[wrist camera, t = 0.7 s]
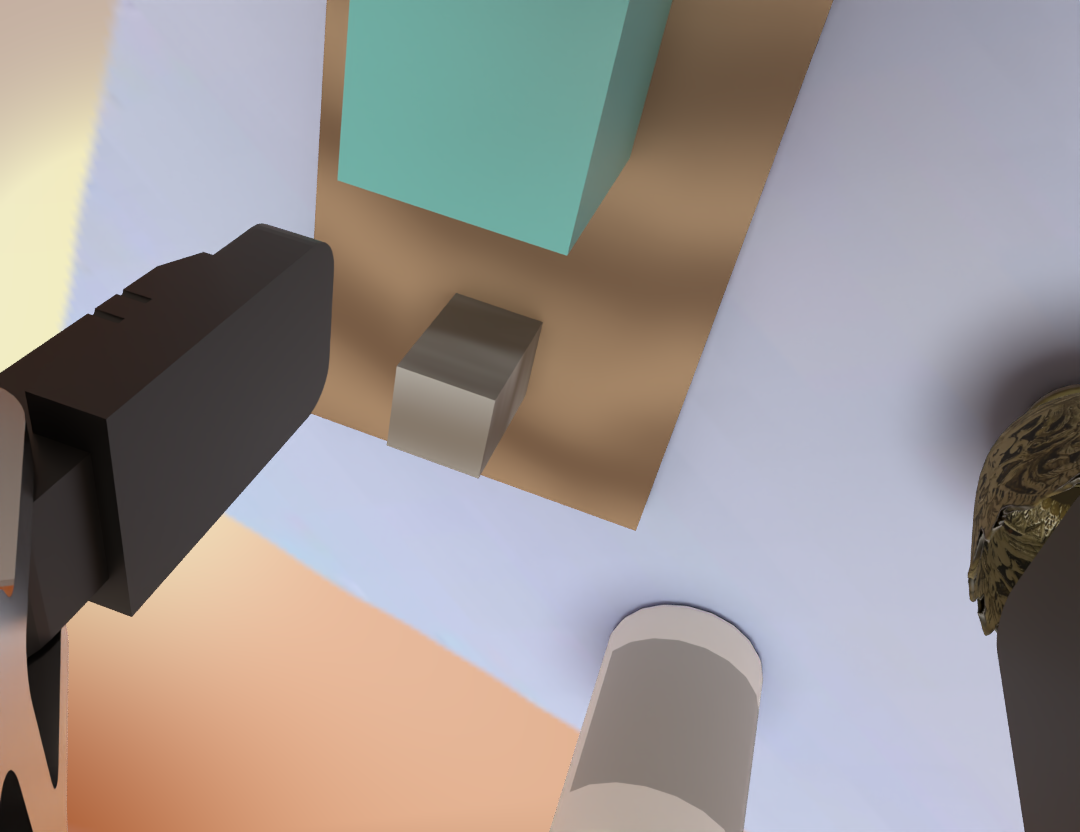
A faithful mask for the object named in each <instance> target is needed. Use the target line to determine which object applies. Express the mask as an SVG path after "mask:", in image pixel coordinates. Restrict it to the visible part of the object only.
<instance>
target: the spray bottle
mask: <svg viewBox="0 0 1080 832" xmlns="http://www.w3.org/2000/svg"><path fill="white" fill-rule="evenodd" d="M762 683H763V676H762V667H761V661H760V659H759V657H758V655H757V653H756V651H755V649H754V648H753V646H752V644H751V642H750V640H748V639H747V638H746V637H745V636H744V635H743V634H742V633H741V632H740V631H739V630H738V629H737V628H736V627H735V626H734V625H732V624H730V623H728V622H727V621H725V620H723V619H721V618H719V617H718V616H716V615H714V614H712V613H709V612H706V611H702V610H699V609H696V608H692V607H689V606H678V605H659V606H653V607H648V608H642V609H640V610H638V611H636V612H635V613H633V614H631V615H629V616H627V617H625V618H624V619H623V620H622V621H621V622H620V623H619V625H618V626H617V627H616V628H615V629H614V631H613V632H612V633H611V635H610V639H609V642H608V645H607V648H606V651H605V655H604V658H603V661H602V664H601V667H600V671H599V674H598V677H597V680H596V684H595V687H594V690H593V693H592V696H591V700H590V703H589V706H588V709H587V712H586V716H585V719H584V722H583V725H582V728H581V732H580V735H579V738H578V741H577V745H576V748H575V751H574V754H573V757H572V761H571V764H570V767H569V771H568V773H567V777H566V780H565V783H564V787H563V789H562V793H561V796H560V799H559V803H558V806H557V809H556V812H555V815H554V818H553V822H552V825H551V828H550V832H743V830H744V822H745V814H746V806H747V799H748V791H749V783H750V775H751V768H752V760H753V752H754V744H755V737H756V729H757V721H758V713H759V706H760V698H761V690H762Z"/></svg>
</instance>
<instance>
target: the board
mask: <svg viewBox="0 0 1080 832" xmlns="http://www.w3.org/2000/svg"><path fill="white" fill-rule="evenodd" d="M349 2H350V0H327V6H326V25H325V44H324V63H323V81H322V100H321V119H320V138H319V156H318V175H317V194H316V213H315V231H314V239H316V240H319V241H322V242H325V243H327V244H328V245H329V246H330V247H331V250H332V252H333V257H334V280H333V299H332V319H331V338H330V358H329V369H328V374H327V378H326V382H325V385H324V388H323V391H322V394H321V396H320V398H319V400H318V403H317V404H316V406H315V408H314V410H313V411H312V413H311V414H314V415H317V416H320V417H322V418H325V419H328V420H331V421H333V422H336V423H339V424H342V425H344V426H347V427H350V428H353V429H355V430H358V431H361V432H364V433H367V434H369V435H372V436H375V437H378V438H380V439H383V440H386V441H387V446H390V447H393V448H396V449H399V450H401V451H404V452H407V453H410V454H412V455H415V456H418V457H421V458H423V459H426V460H429V461H432V462H434V463H437V464H440V465H443V466H445V467H448V468H451V469H454V470H457V471H459V472H462V473H465V474H468V475H470V476H473V477H476V478H479V477H480V475H483V476H485V477H488V478H491V479H494V480H497V481H499V482H502V483H505V484H508V485H510V486H513V487H516V488H519V489H521V490H524V491H527V492H530V493H532V494H535V495H538V496H541V497H544V498H546V499H549V500H552V501H555V502H557V503H560V504H563V505H566V506H568V507H571V508H574V509H577V510H579V511H582V512H585V513H588V514H591V515H593V516H596V517H599V518H602V519H604V520H607V521H610V522H613V523H615V524H618V525H621V526H624V527H627V528H629V529H632V530H635V531H636V529H637V526H638V523H639V521H640V518H641V515H642V513H643V510H644V507H645V504H646V502H647V499H648V496H649V494H650V491H651V488H652V486H653V483H654V480H655V478H656V475H657V472H658V470H659V467H660V464H661V461H662V459H663V456H664V453H665V451H666V448H667V445H668V443H669V440H670V437H671V435H672V432H673V429H674V427H675V424H676V421H677V419H678V416H679V413H680V410H681V408H682V405H683V402H684V400H685V397H686V394H687V392H688V389H689V386H690V384H691V381H692V378H693V376H694V373H695V370H696V368H697V365H698V362H699V359H700V357H701V354H702V351H703V349H704V346H705V343H706V341H707V338H708V335H709V333H710V330H711V327H712V325H713V322H714V319H715V317H716V314H717V311H718V308H719V306H720V303H721V300H722V298H723V295H724V292H725V290H726V287H727V284H728V282H729V279H730V276H731V274H732V271H733V268H734V266H735V263H736V260H737V257H738V255H739V252H740V249H741V247H742V244H743V241H744V239H745V236H746V233H747V231H748V228H749V225H750V223H751V220H752V217H753V215H754V212H755V209H756V206H757V204H758V201H759V198H760V196H761V193H762V190H763V188H764V185H765V182H766V180H767V177H768V174H769V172H770V169H771V166H772V163H773V161H774V158H775V155H776V153H777V150H778V147H779V145H780V142H781V139H782V137H783V134H784V131H785V129H786V126H787V123H788V121H789V118H790V115H791V112H792V110H793V107H794V104H795V102H796V99H797V96H798V94H799V91H800V88H801V86H802V83H803V80H804V78H805V75H806V72H807V70H808V67H809V64H810V61H811V59H812V56H813V53H814V51H815V48H816V45H817V43H818V40H819V37H820V35H821V32H822V29H823V27H824V24H825V21H826V19H827V16H828V13H829V10H830V8H831V5H832V2H833V0H672V4H671V8H670V11H669V15H668V19H667V22H666V26H665V30H664V33H663V37H662V41H661V44H660V48H659V52H658V56H657V59H656V63H655V67H654V70H653V74H652V78H651V81H650V85H649V89H648V92H647V96H646V100H645V103H644V107H643V111H642V115H641V118H640V122H639V126H638V129H637V133H636V137H635V140H634V144H633V148H632V151H631V155H630V159H629V160H628V162H627V163H626V165H625V166H624V168H623V170H622V171H621V173H620V174H619V176H618V177H617V179H616V180H615V182H614V184H613V185H612V187H611V188H610V190H609V191H608V193H607V194H606V196H605V198H604V199H603V201H602V202H601V204H600V205H599V207H598V208H597V210H596V212H595V213H594V215H593V216H592V218H591V219H590V221H589V222H588V224H587V226H586V227H585V229H584V230H583V232H582V233H581V235H580V236H579V238H578V240H577V241H576V243H575V244H574V246H573V247H572V249H571V250H570V252H569V254H568V255H567V256H566V255H563V254H560V253H557V252H554V251H551V250H548V249H545V248H542V247H539V246H536V245H533V244H530V243H527V242H524V241H521V240H518V239H514V238H511V237H508V236H505V235H502V234H499V233H496V232H493V231H490V230H487V229H484V228H481V227H478V226H475V225H472V224H469V223H466V222H463V221H460V220H457V219H454V218H451V217H448V216H445V215H442V214H438V213H435V212H432V211H429V210H426V209H423V208H420V207H417V206H414V205H411V204H408V203H405V202H402V201H399V200H396V199H393V198H390V197H387V196H384V195H381V194H378V193H375V192H372V191H369V190H365V189H362V188H359V187H356V186H353V185H350V184H347V183H344V182H341V181H338V165H339V150H340V135H341V121H342V106H343V91H344V76H345V62H346V47H347V32H348V17H349Z"/></svg>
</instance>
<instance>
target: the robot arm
mask: <svg viewBox="0 0 1080 832" xmlns="http://www.w3.org/2000/svg"><path fill="white" fill-rule="evenodd" d="M333 280H334V257H333V252H332V250H331V247H330V246H329V245H328V244H327V243H325V242H322V241H319V240H316V239H312V238H309V237H306V236H303V235H299V234H296V233H293V232H290V231H287V230H283V229H280V228H277V227H274V226H270V225H267V224H262V223H261V224H257V225H255V226H253V227H252V228H250V229H249V230H247V231H246V232H245V233H243V234H242V235H240V236H239V237H238V238H236V239H235V240H233V241H232V242H231V243H229V244H228V245H227V246H225V247H224V248H222V249H221V250H220V251H218V252H217V253H215V254H214V255H211V254H208V253H205V252H202V253H199V254H196V255H193V256H189V257H186V258H183V259H180V260H176V261H173V262H170V263H167V264H163V265H160V266H157V267H156V268H154V269H153V270H151V271H150V272H148V273H147V274H145V275H144V276H142V277H141V278H139V279H138V280H136V281H135V282H133V283H132V284H131V285H129V286H128V287H126V288H125V289H123V293H122V295H118V294H116V295H114V296H113V297H111V298H110V299H108V300H107V301H105V302H104V303H103V304H101V305H100V306H98V307H97V308H95V312H94V314H93V315H90V314H86V315H85V316H83V317H82V318H80V319H79V320H78V321H76V322H75V323H73V324H72V325H70V326H69V327H67V328H66V329H64V330H63V331H61V332H60V333H58V334H57V335H55V336H54V337H52V338H51V339H50V340H48V341H47V342H45V343H44V344H42V345H41V346H39V347H38V348H36V349H35V350H33V351H32V352H30V353H29V354H27V355H26V356H25V357H23V358H22V359H20V360H19V361H17V362H16V363H14V364H13V365H11V366H10V367H8V368H7V369H5V370H4V371H3V372H1V373H0V832H68V830H67V727H68V643H69V642H68V634H67V628H66V623H67V622H68V621H69V620H70V619H71V618H72V617H73V616H74V615H75V614H76V613H77V612H78V611H79V610H80V609H81V608H82V607H83V606H84V605H85V603H86V602H87V601H90V602H93V603H96V604H98V605H101V606H104V607H106V608H109V609H112V610H115V611H117V612H120V613H123V614H125V615H128V616H131V617H132V616H133V615H134V614H135V613H136V611H138V609H139V608H140V607H141V606H142V605H143V604H144V603H145V601H146V600H147V599H148V598H149V597H150V596H151V595H152V594H153V592H154V591H155V590H156V589H157V588H158V587H159V586H160V584H161V583H162V582H163V581H164V580H165V579H166V578H167V577H168V575H169V574H170V573H171V572H172V571H173V570H174V569H175V567H176V566H177V565H178V564H179V563H180V562H181V561H182V560H183V558H184V557H185V556H186V555H187V554H188V553H189V552H190V550H191V549H192V548H193V547H194V546H195V545H196V544H197V543H198V541H199V540H200V539H201V538H202V537H203V536H204V535H205V533H206V532H207V531H208V530H209V529H210V528H211V527H212V525H213V524H214V523H215V522H216V521H217V520H218V519H219V518H220V517H221V515H222V514H223V513H224V512H225V511H226V510H227V509H228V507H229V506H230V505H231V504H232V503H233V502H234V501H235V500H236V498H237V497H238V496H239V495H240V494H241V493H242V492H243V490H244V489H245V488H246V487H247V486H248V485H249V484H250V483H251V481H252V480H253V479H254V478H255V477H256V476H257V475H258V473H259V472H260V471H261V470H262V469H263V468H264V467H265V466H266V464H267V463H268V462H269V461H270V460H271V459H272V458H273V456H274V455H275V454H276V453H277V452H278V451H279V450H280V449H281V447H282V446H283V445H284V444H285V443H286V442H287V441H288V439H289V438H290V437H291V436H292V435H293V434H294V433H295V432H296V430H297V429H298V428H299V427H300V426H301V425H302V424H303V422H304V421H305V420H306V419H307V418H308V417H309V415H310V414H311V413H312V411H313V410H314V408H315V406H316V404H317V403H318V400H319V398H320V396H321V394H322V391H323V388H324V385H325V382H326V378H327V374H328V369H329V358H330V338H331V319H332V299H333ZM997 653H998V659H999V666H1000V673H1001V679H1002V686H1003V692H1004V699H1005V705H1006V712H1007V718H1008V725H1009V732H1010V738H1011V745H1012V751H1013V758H1014V764H1015V771H1016V777H1017V784H1018V791H1019V797H1020V804H1021V810H1022V817H1023V823H1024V830H1025V832H1080V496H1079V497H1078V498H1077V499H1076V500H1075V502H1074V503H1073V504H1072V506H1071V507H1070V509H1069V510H1068V511H1067V513H1066V514H1065V516H1064V517H1063V518H1062V520H1061V521H1060V523H1059V524H1058V525H1057V527H1056V528H1055V530H1054V531H1053V532H1052V534H1051V535H1050V537H1049V538H1048V539H1047V541H1046V542H1045V544H1044V545H1043V547H1042V548H1041V549H1040V551H1039V552H1038V554H1037V555H1036V556H1035V558H1034V559H1033V561H1032V562H1031V563H1030V565H1029V566H1028V568H1027V569H1026V570H1025V572H1024V573H1023V575H1022V576H1021V577H1020V579H1019V580H1018V582H1017V583H1016V584H1015V586H1014V587H1013V589H1012V591H1011V592H1010V594H1009V596H1008V598H1007V600H1006V602H1005V605H1004V607H1003V610H1002V613H1001V617H1000V621H999V625H998V631H997Z"/></svg>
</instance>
